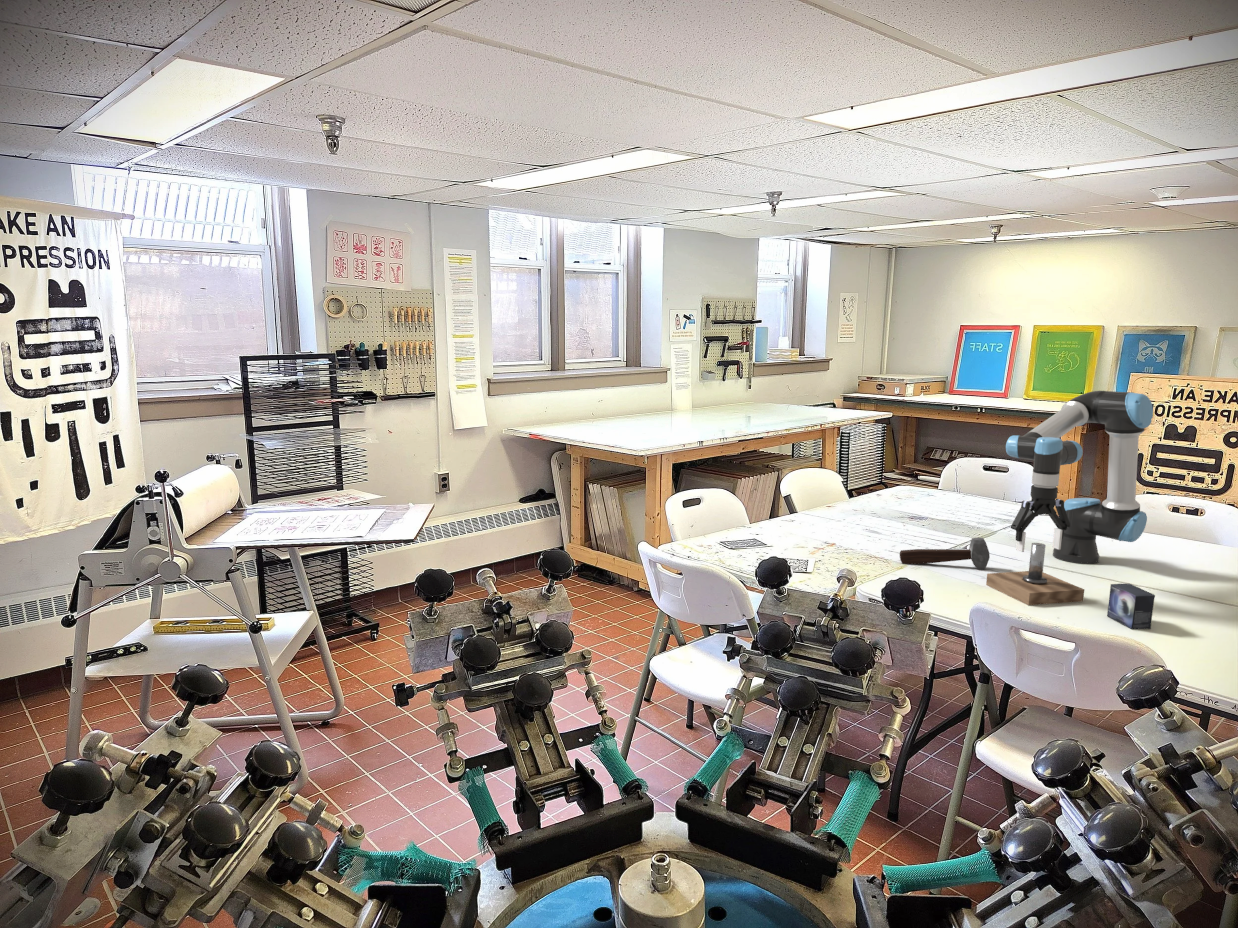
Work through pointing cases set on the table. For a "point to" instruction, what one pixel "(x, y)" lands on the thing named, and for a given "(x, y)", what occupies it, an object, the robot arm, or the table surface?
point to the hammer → (949, 554)
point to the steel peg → (1036, 565)
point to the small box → (1130, 606)
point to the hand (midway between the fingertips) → (1038, 549)
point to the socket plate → (1035, 588)
